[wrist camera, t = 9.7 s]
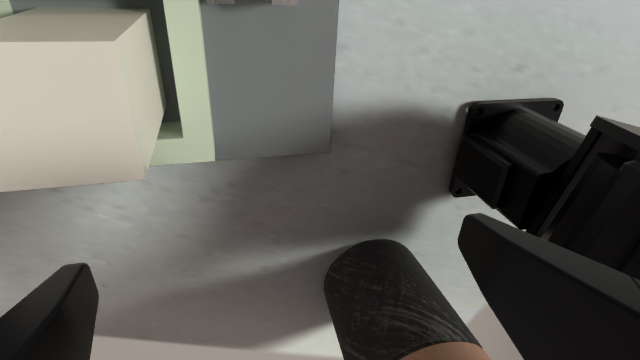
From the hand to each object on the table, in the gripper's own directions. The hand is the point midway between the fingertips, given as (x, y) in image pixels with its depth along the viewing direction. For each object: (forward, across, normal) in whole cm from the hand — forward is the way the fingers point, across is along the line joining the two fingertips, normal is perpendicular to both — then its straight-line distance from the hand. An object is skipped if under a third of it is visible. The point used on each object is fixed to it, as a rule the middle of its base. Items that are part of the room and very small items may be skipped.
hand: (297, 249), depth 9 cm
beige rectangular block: (+11, +6, -2) cm, 13 cm away
